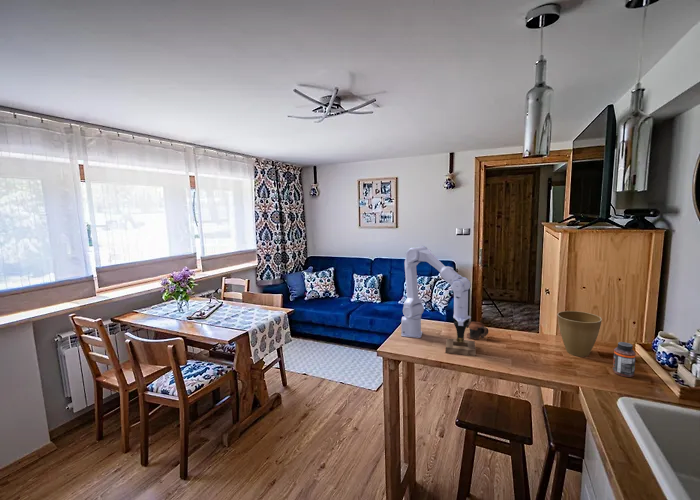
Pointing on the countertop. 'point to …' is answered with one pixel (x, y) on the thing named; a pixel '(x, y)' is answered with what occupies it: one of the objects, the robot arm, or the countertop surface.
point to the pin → (460, 339)
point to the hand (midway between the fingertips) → (460, 336)
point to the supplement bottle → (624, 360)
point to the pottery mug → (476, 330)
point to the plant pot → (579, 331)
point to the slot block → (460, 347)
